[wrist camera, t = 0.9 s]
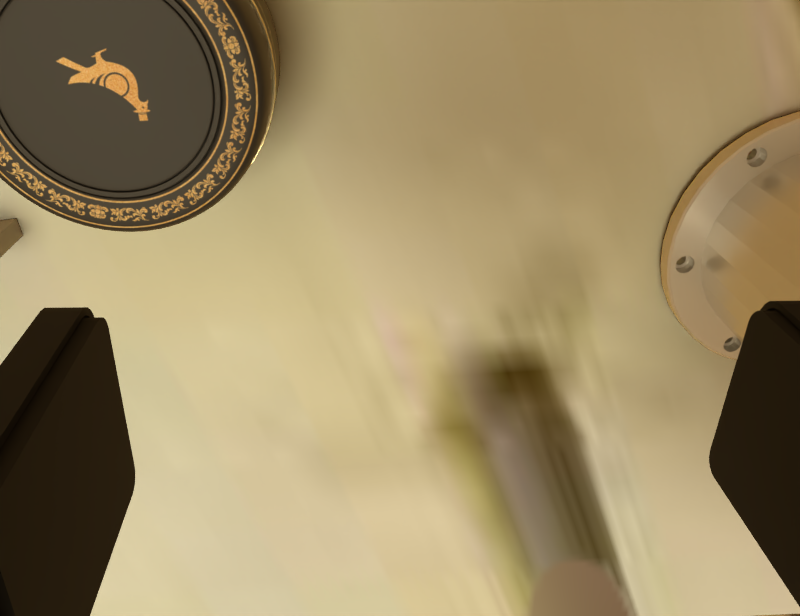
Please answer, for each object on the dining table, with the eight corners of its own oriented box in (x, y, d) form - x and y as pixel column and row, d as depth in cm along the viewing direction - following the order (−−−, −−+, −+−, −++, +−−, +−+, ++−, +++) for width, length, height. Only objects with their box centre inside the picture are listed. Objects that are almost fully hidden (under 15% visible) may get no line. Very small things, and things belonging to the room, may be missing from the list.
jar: (19, -122, 26) (-95, -134, 19) (300, -67, 27) (284, -61, 21) (35, 150, 31) (-53, 216, 24) (274, 185, 32) (255, 257, 25)
